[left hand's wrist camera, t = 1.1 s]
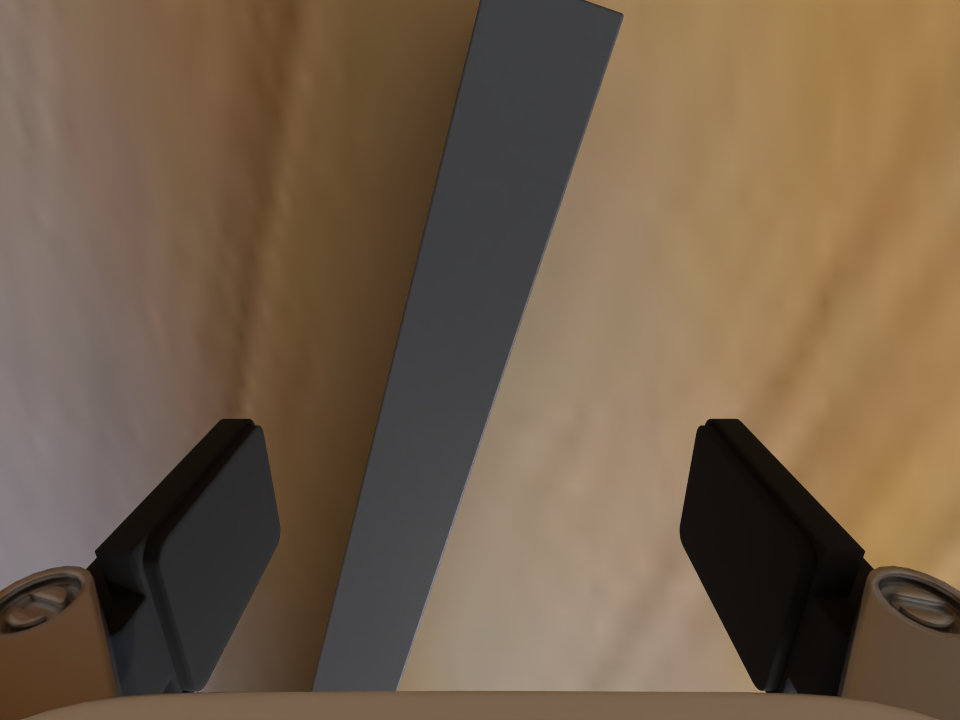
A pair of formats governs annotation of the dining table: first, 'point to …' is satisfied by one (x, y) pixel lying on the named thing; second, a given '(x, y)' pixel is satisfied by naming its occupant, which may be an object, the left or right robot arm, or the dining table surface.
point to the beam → (462, 316)
